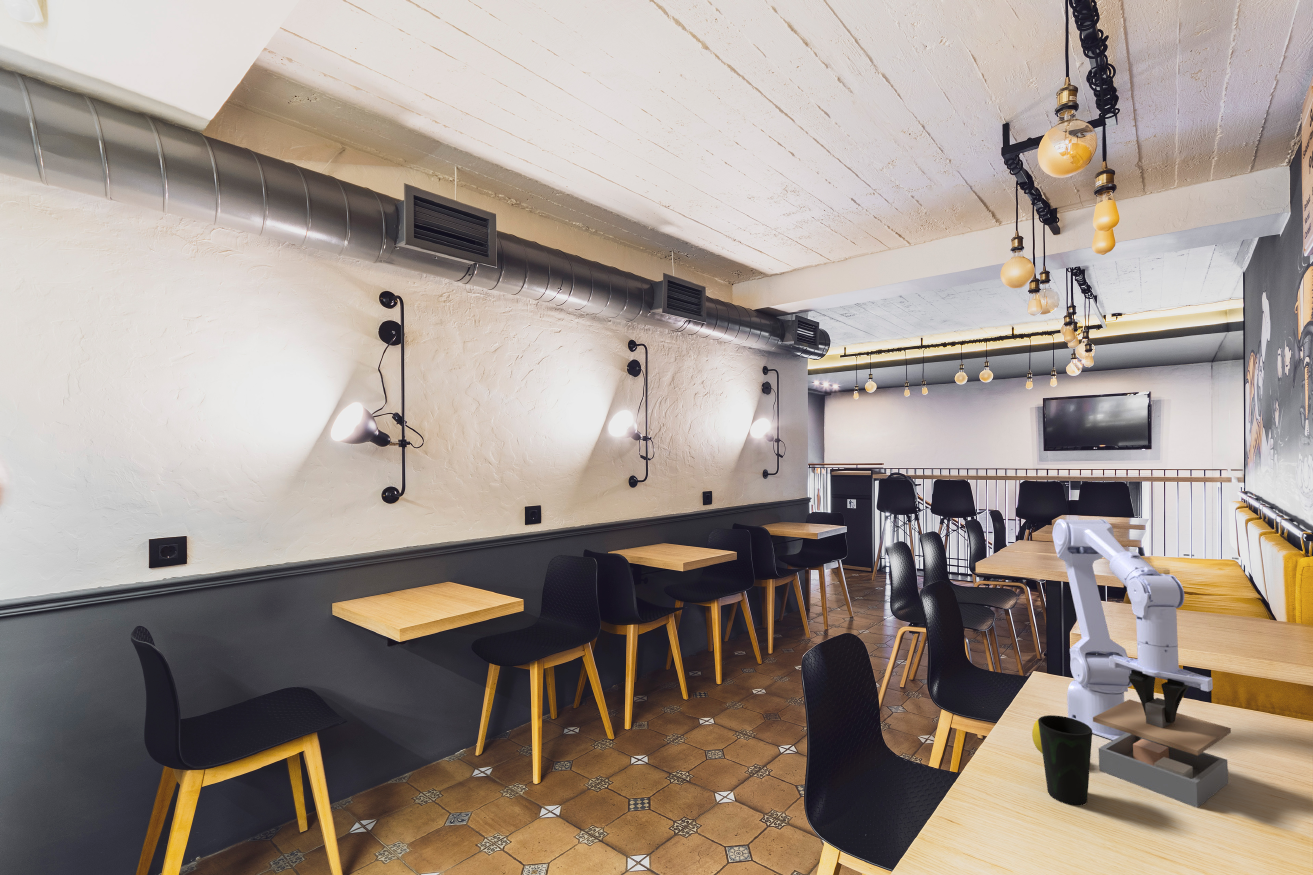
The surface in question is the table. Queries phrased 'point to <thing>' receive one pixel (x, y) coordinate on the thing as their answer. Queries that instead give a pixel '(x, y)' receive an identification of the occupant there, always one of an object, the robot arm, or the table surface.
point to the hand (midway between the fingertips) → (1160, 718)
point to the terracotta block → (1149, 751)
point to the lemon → (1036, 736)
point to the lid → (1163, 726)
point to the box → (1165, 771)
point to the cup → (1066, 758)
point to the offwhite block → (1175, 767)
